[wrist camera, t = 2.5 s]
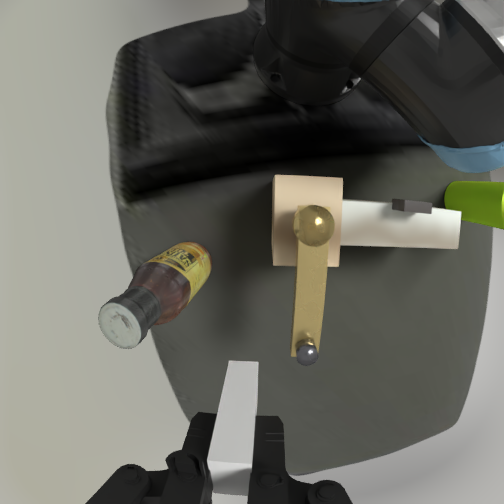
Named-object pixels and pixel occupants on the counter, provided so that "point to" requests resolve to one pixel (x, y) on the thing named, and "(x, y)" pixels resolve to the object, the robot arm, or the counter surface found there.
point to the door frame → (357, 219)
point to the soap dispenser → (477, 201)
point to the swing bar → (310, 279)
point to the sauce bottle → (155, 294)
